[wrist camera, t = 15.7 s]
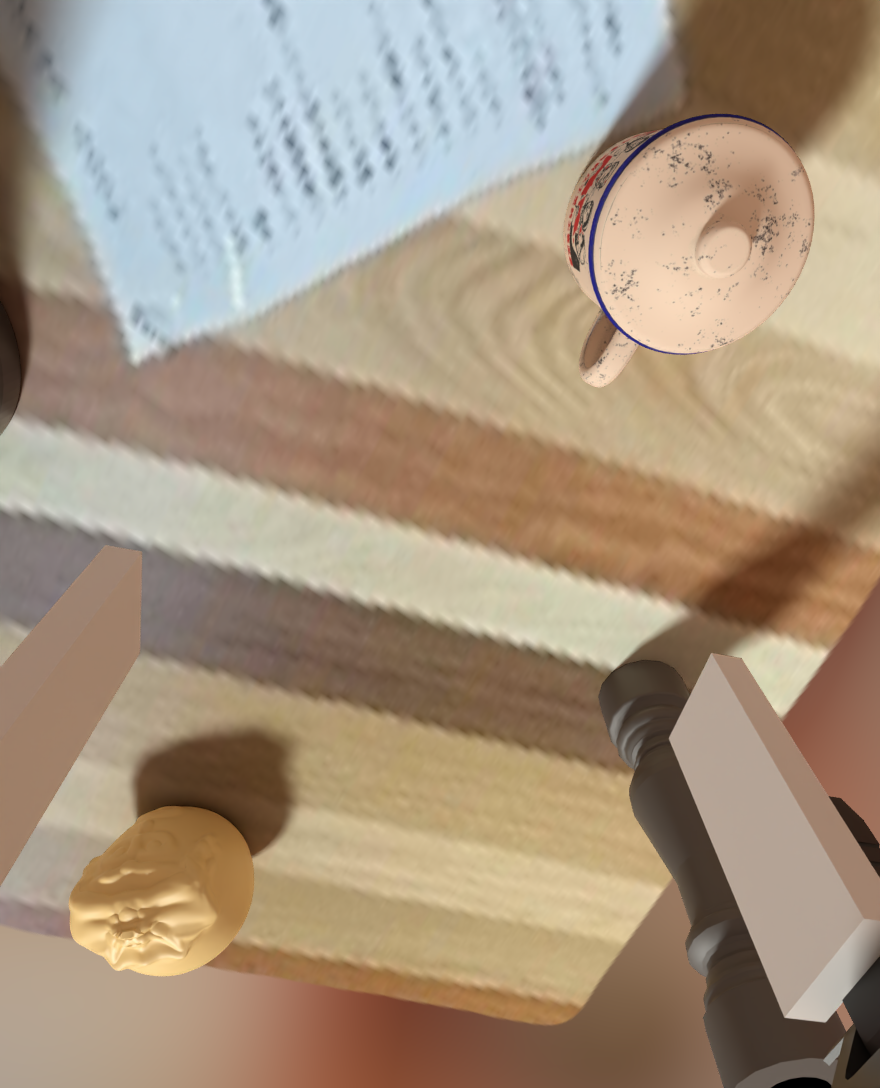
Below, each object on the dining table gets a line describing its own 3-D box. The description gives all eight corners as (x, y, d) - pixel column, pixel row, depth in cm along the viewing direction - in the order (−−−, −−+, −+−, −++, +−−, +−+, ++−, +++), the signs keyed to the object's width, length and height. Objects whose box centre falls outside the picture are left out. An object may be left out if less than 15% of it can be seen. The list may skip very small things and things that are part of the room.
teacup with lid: (619, 87, 33) (701, 52, 23) (771, 183, 35) (908, 189, 25) (499, 320, 38) (522, 376, 28) (637, 392, 40) (706, 469, 30)
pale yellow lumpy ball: (226, 769, 54) (182, 897, 45) (284, 868, 60) (256, 1000, 50) (94, 799, 56) (24, 928, 46) (162, 892, 61) (112, 1025, 52)
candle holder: (660, 734, 53) (822, 1139, 31) (585, 715, 52) (695, 1119, 30) (699, 672, 50) (907, 1068, 28) (620, 651, 49) (770, 1043, 27)
